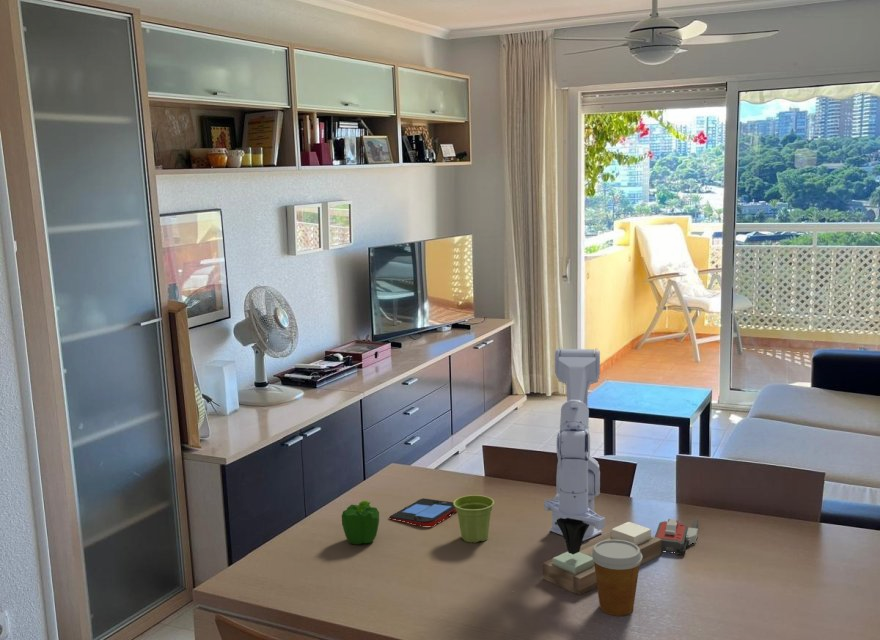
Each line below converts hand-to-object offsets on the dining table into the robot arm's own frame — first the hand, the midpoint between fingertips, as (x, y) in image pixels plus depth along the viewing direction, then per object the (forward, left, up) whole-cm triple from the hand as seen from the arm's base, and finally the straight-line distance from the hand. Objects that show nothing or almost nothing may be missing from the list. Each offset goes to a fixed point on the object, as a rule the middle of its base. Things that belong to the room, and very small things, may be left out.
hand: (573, 552), depth 175 cm
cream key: (0, +19, -4) cm, 19 cm away
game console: (-49, +1, -7) cm, 49 cm away
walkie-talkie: (+2, +33, -7) cm, 34 cm away
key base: (0, +9, -6) cm, 11 cm away
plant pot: (-30, 0, -6) cm, 31 cm away
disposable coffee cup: (+13, -3, -6) cm, 15 cm away
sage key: (0, 0, -4) cm, 4 cm away
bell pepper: (-47, -20, -6) cm, 51 cm away
